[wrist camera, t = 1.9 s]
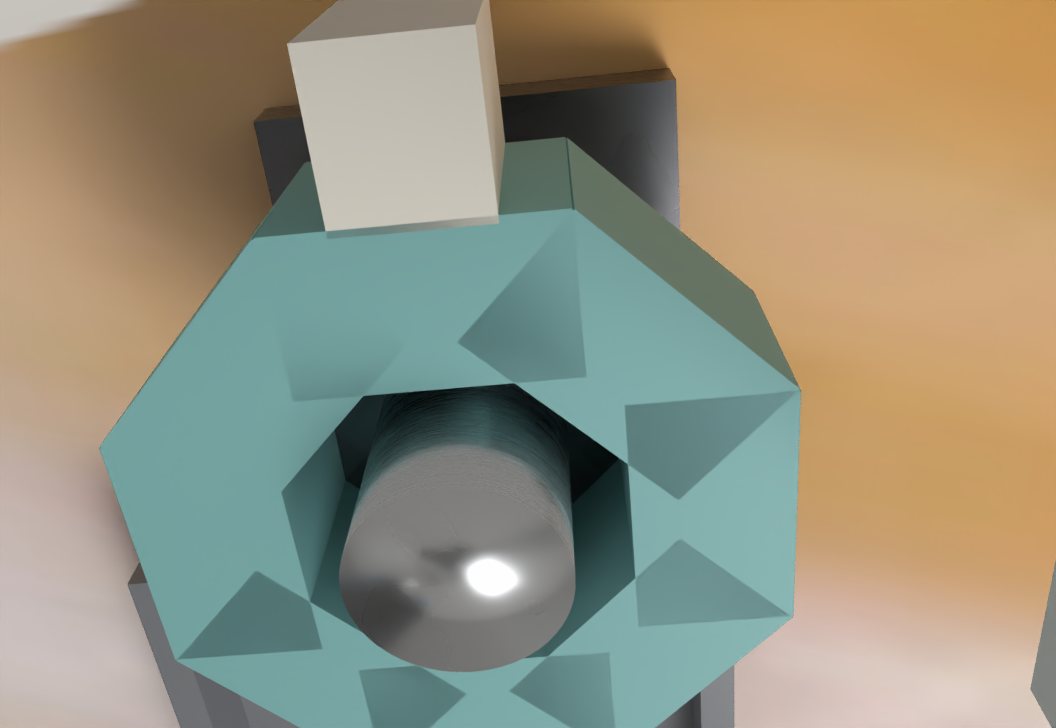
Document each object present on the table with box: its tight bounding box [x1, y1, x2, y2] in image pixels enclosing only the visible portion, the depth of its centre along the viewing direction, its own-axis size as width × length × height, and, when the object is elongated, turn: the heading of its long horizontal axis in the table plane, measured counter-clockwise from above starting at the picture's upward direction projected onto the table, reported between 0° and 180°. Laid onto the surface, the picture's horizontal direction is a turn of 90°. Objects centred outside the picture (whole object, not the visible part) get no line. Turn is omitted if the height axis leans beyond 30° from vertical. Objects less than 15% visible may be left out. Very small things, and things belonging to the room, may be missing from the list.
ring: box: [99, 0, 801, 728], centre depth 14 cm, size 9×11×3 cm
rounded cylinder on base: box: [254, 68, 680, 672], centre depth 17 cm, size 8×8×10 cm
